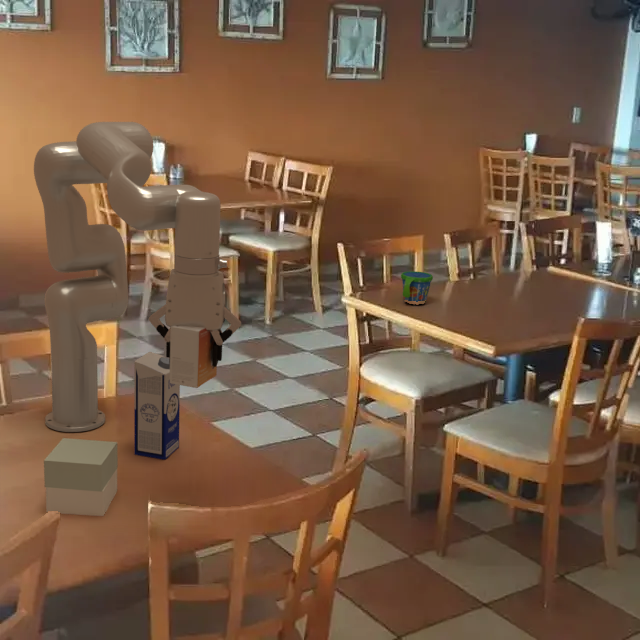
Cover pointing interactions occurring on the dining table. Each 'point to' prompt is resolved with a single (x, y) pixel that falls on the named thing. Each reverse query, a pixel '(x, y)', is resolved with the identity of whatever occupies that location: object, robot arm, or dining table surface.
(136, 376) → the milk carton
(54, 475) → the tower top
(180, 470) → the dining table surface
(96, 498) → the tower bottom
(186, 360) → the small box
